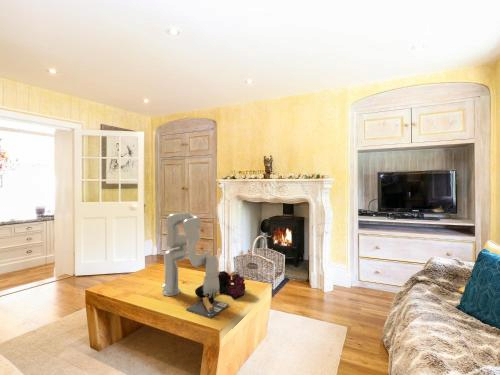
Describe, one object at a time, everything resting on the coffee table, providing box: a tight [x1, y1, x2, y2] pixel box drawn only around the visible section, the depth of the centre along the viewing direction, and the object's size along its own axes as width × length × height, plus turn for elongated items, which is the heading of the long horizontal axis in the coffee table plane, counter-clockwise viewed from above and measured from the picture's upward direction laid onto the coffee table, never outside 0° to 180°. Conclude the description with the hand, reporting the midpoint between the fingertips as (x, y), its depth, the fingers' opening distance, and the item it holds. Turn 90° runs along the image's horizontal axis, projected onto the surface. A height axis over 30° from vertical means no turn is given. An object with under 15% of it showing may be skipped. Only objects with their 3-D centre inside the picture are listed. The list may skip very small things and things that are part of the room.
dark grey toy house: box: [194, 284, 207, 299], centre depth 186 cm, size 10×7×7 cm
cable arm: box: [202, 296, 214, 314], centre depth 164 cm, size 18×3×3 cm, turn 24°
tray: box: [186, 298, 229, 319], centre depth 167 cm, size 20×18×2 cm
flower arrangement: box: [218, 270, 246, 300], centre depth 192 cm, size 31×20×15 cm, turn 63°
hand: (211, 302), depth 168 cm, fingers closed
